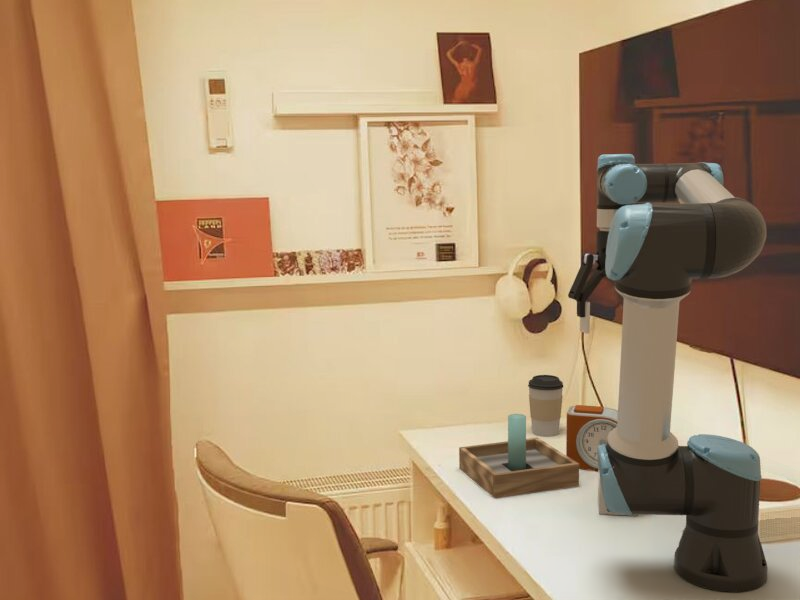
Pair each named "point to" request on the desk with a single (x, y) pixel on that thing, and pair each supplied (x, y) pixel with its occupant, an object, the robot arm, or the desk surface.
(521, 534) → the desk surface
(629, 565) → the desk surface
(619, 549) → the desk surface
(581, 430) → the alarm clock
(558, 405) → the coffee cup
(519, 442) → the peg
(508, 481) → the socket box
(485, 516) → the desk surface
